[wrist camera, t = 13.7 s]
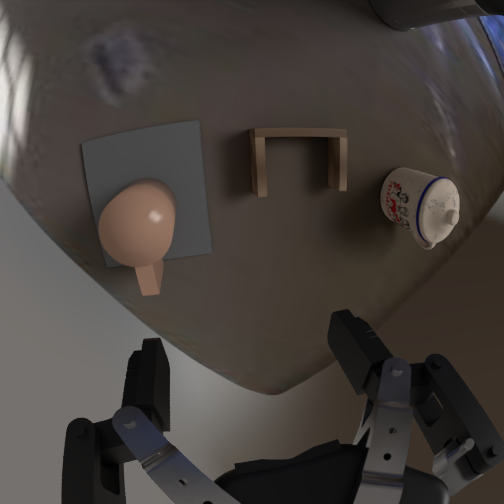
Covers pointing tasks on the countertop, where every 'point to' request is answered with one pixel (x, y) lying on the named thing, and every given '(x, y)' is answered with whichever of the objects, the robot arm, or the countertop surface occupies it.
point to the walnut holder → (335, 136)
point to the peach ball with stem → (140, 229)
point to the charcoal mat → (158, 167)
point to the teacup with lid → (421, 204)
